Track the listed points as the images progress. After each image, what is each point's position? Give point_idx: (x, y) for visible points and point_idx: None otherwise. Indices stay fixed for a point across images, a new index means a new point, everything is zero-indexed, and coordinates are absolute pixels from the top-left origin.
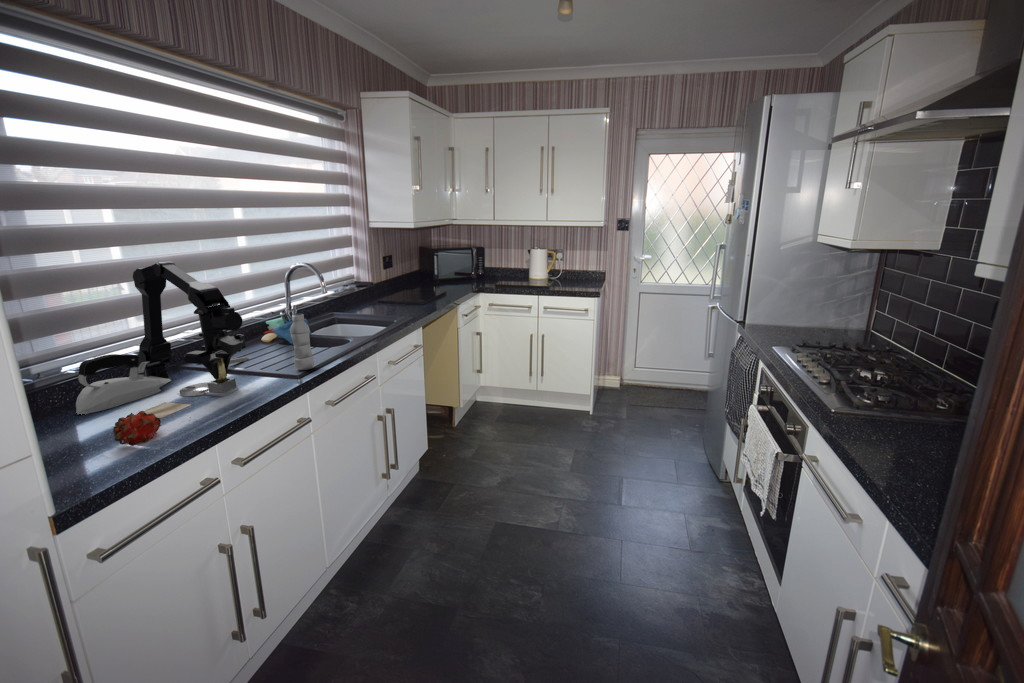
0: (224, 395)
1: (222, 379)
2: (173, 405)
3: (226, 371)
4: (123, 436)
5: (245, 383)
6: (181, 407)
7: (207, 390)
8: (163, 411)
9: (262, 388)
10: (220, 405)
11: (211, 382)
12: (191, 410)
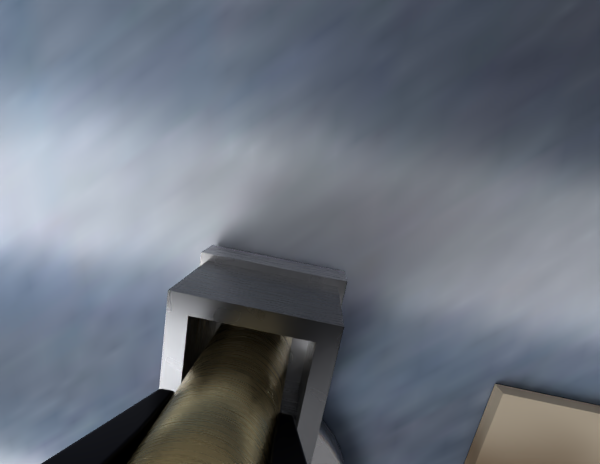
0: (339, 273)
1: (264, 370)
2: None
3: (137, 419)
4: None
5: (68, 286)
6: (548, 425)
7: None
8: None
9: (144, 93)
10: (496, 208)
11: None
12: (567, 349)
